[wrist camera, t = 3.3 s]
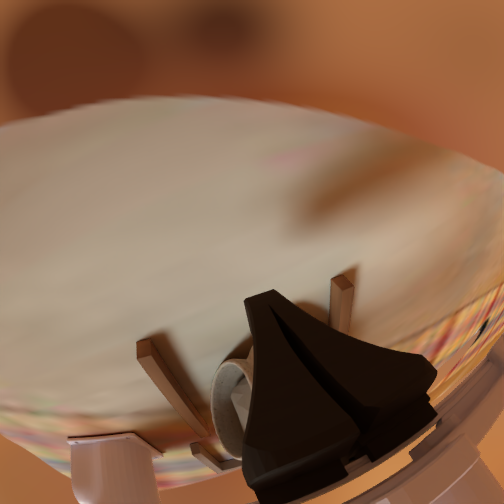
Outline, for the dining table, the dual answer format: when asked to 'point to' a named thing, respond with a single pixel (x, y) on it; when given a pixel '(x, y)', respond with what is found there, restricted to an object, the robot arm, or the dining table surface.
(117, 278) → the dining table surface
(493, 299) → the dining table surface
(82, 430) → the dining table surface
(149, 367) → the walnut dock
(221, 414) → the speckled coffee cup
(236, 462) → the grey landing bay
